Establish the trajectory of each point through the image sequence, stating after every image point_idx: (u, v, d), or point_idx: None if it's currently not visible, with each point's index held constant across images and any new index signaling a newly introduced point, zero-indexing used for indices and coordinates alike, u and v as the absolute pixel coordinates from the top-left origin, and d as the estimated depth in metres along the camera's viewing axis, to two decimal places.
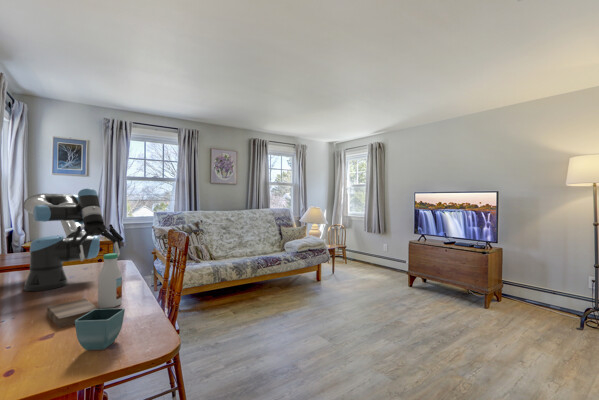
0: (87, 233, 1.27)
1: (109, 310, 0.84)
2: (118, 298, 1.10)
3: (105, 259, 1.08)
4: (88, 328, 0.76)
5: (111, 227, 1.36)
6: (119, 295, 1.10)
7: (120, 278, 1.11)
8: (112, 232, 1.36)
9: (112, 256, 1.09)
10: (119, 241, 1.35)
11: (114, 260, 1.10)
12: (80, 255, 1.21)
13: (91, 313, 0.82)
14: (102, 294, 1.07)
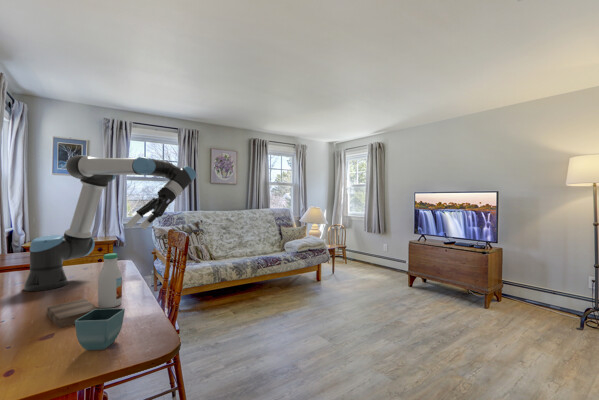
0: None
1: (109, 310, 0.84)
2: (118, 298, 1.10)
3: (105, 259, 1.08)
4: (88, 328, 0.76)
5: None
6: (119, 295, 1.10)
7: (120, 278, 1.11)
8: None
9: (112, 256, 1.09)
10: None
11: (114, 260, 1.10)
12: (145, 223, 1.16)
13: (91, 313, 0.82)
14: (102, 294, 1.07)
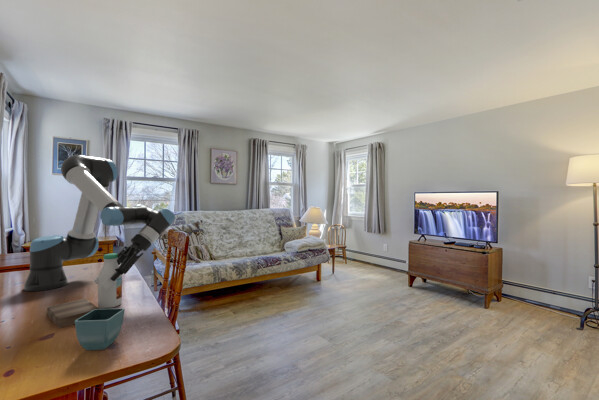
0: None
1: (109, 310, 0.84)
2: (118, 298, 1.10)
3: (105, 259, 1.08)
4: (88, 328, 0.76)
5: None
6: (119, 295, 1.10)
7: (120, 278, 1.11)
8: None
9: (112, 256, 1.09)
10: None
11: (114, 260, 1.10)
12: (108, 281, 1.06)
13: (91, 313, 0.82)
14: (102, 294, 1.07)
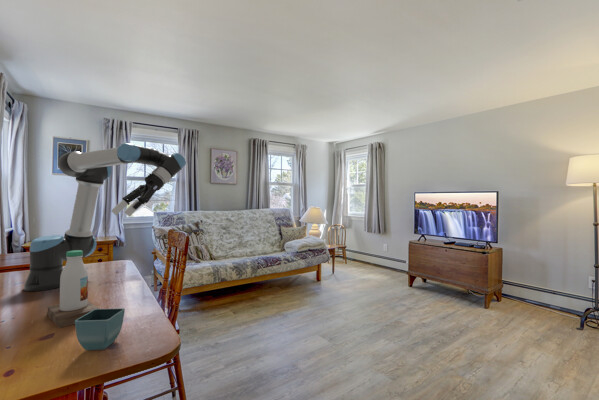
0: None
1: (109, 310, 0.84)
2: (83, 299, 0.99)
3: (68, 256, 0.97)
4: (88, 328, 0.76)
5: None
6: (84, 296, 0.99)
7: (85, 278, 1.00)
8: None
9: (76, 253, 0.98)
10: None
11: (78, 258, 0.99)
12: (131, 209, 1.11)
13: (91, 313, 0.82)
14: (64, 295, 0.96)
